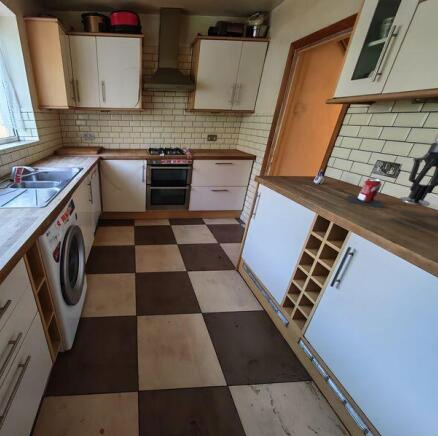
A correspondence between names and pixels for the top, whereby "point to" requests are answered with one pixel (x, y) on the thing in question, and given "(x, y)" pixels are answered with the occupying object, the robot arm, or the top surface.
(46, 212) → the top surface
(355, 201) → the slate mat
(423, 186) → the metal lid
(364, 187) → the soda can
